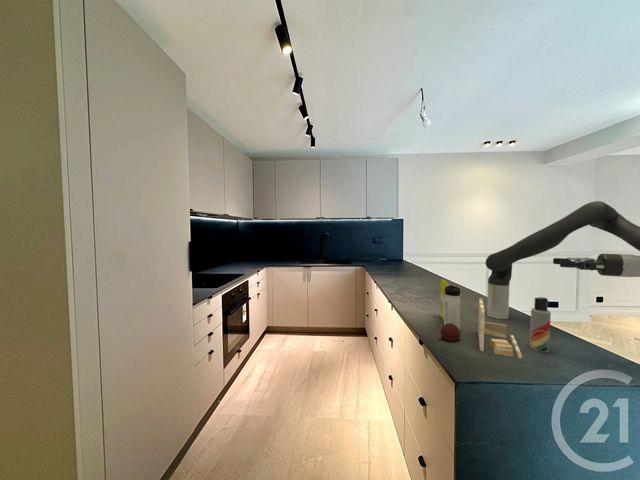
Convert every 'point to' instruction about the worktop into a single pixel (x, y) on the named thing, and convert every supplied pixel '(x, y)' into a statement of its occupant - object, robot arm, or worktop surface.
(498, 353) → the offcut
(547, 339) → the lotion bottle
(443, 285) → the food package
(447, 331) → the potato
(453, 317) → the travel mug
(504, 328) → the rack
